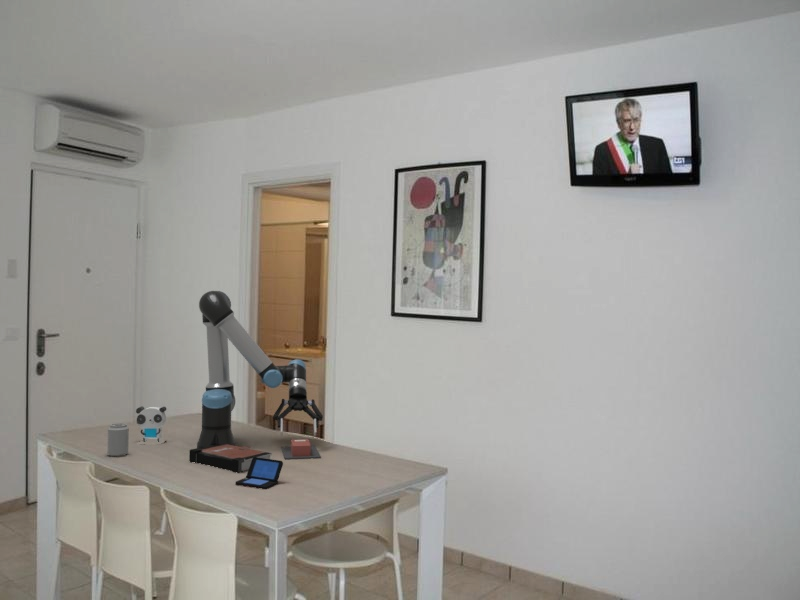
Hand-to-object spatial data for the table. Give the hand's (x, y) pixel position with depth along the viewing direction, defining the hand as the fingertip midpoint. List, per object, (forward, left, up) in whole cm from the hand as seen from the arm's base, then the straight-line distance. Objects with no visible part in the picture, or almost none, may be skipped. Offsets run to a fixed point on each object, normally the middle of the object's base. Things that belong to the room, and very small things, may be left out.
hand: (298, 433), depth 274 cm
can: (-45, +53, -8) cm, 70 cm away
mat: (-1, -2, -7) cm, 8 cm away
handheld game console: (-43, -19, -8) cm, 48 cm away
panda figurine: (-23, +61, -8) cm, 66 cm away
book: (-28, +9, -8) cm, 31 cm away
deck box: (-7, -7, -5) cm, 11 cm away
